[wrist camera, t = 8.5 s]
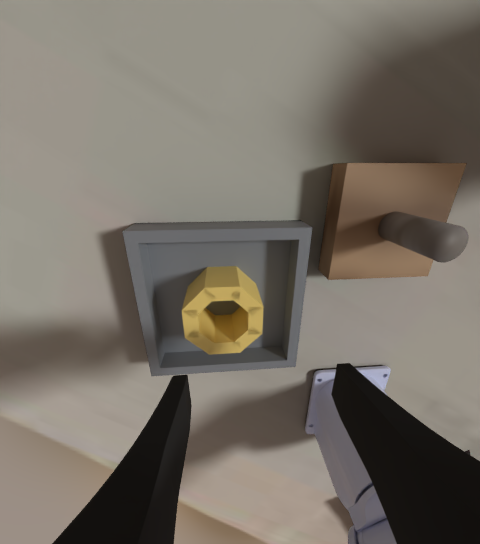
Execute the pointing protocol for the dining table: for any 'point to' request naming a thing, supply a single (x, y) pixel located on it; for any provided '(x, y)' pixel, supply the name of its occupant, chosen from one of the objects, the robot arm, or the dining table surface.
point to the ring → (222, 328)
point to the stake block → (390, 219)
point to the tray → (186, 268)
